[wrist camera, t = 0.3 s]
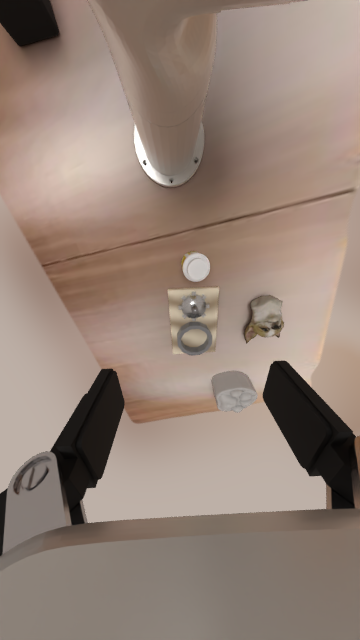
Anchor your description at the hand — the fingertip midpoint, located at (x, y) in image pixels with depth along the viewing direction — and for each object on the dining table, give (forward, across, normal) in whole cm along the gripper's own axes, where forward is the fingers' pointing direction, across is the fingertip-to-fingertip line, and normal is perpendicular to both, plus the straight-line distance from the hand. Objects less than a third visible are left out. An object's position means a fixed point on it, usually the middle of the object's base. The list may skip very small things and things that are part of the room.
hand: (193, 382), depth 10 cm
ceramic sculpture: (+34, -22, +12) cm, 43 cm away
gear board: (+34, -3, +13) cm, 36 cm away
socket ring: (+32, -4, +17) cm, 37 cm away
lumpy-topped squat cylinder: (+34, -17, +38) cm, 54 cm away
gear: (+32, -3, +7) cm, 33 cm away
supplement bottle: (+34, -3, -3) cm, 34 cm away
